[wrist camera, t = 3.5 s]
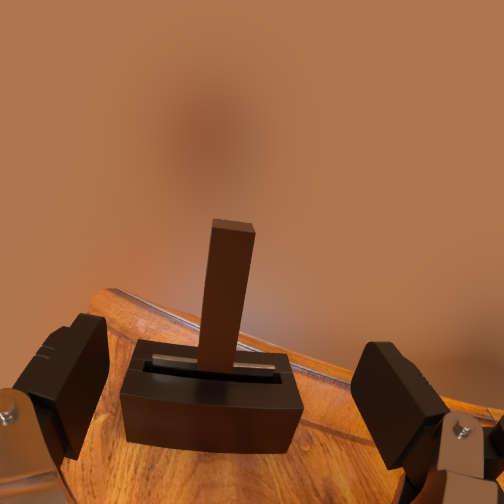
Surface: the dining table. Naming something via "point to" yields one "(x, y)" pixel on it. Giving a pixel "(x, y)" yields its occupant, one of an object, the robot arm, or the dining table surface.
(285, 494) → the dining table surface
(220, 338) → the knife
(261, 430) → the knife stand
